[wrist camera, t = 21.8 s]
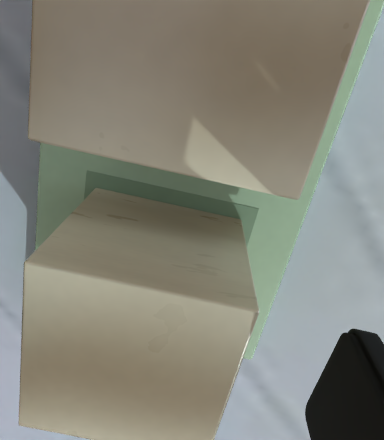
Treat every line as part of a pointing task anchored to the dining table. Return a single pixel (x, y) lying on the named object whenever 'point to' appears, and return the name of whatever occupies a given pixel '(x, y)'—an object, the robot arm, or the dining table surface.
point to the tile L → (192, 83)
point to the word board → (203, 191)
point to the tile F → (135, 321)
